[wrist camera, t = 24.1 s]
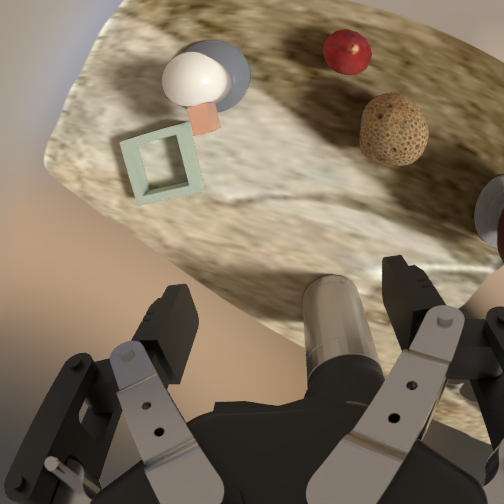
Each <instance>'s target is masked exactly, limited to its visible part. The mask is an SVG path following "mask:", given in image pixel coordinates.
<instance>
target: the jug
mask: <svg viewBox="0 0 504 504" xmlns="http://www.w3.org/2000/svg"><path fill="white" fill-rule="evenodd" d="M162 86H163V90H164V92H165V94H166V96H167V97H168V98H169V99H170V100H171V101H172V102H174V103H176V104H178V105H181V106H192V107H188V108H187V110H188V115H189V119H190V123H191V127H192V132H193V136H196V135H200V134H205V133H209V132H213V131H215V130H217V129H219V128H221V126H220V122H219V117H218V113H217V108H216V104H215V103H219V102H221V101H223V100H224V99H226V98H227V97H228V96H229V94H230V93H231V91H232V88H233V76H232V74H231V72H230V71H229V69H228V68H227V67H225V66H224V65H222V64H220V63H219V62H217V61H215V60H213V59H211V58H209V57H207V56H206V55H203V54H201V53H198V52H186V53H182V54H180V55H178V56H176V57H174V58H173V59H172V60H171V61H170V62H169V63H168V64H167V66H166V67H165V69H164V72H163V76H162Z"/></svg>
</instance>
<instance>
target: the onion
mask: <svg viewBox="0 0 504 504" xmlns="http://www.w3.org/2000/svg"><path fill="white" fill-rule="evenodd" d="M323 55H324V59H325V61H326V63H327V64H328V66H329V67H330V68H331V69H333V70H334V71H336V72H337V73H341V74H345V75H355V74H358V73H360V72H362V71H364V70H365V69H366V68H367V67H368V65H369V64H370V61H371V56H372V53H371V47H370V45H369V43H368V42H367V40H366V39H365V38H364V37H363V36H362V35H360V34H359V33H357V32H355V31H351V30H347V29H345V30H339V31H336V32H334V33H333V34H331V35H330V36H328V38H327V39H326V41H325V42H324V46H323Z"/></svg>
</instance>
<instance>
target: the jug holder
mask: <svg viewBox="0 0 504 504" xmlns="http://www.w3.org/2000/svg"><path fill="white" fill-rule="evenodd" d="M173 135H177V139H178V144H179V148H180V152H181V155H182V159H183V163H184V167H185V171H186V175H187V179H188V182H183V183H179V184H174V185H170V186H165V187H161V188H157V189H152V190H150V186H149V183H148V180H147V176H146V173H145V169H144V165H143V162H142V158H141V154H140V151H139V147H138V145H141V144H144V143H148V142H151V141H155V140H158V139H162V138H166V137H169V136H173ZM119 143H120V147H121V150H122V154H123V158H124V161H125V165H126V168H127V172H128V175H129V179H130V182H131V185H132V189H133V192H134V195H135V198H136V202H137V205H138V206H140V205H144V204H149V203H153V202H158V201H162V200H167V199H171V198H176V197H181V196H186V195H191V194H196V193H200V192H201V191H202V190H203V188H204V187H205V184H204V180H203V176H202V172H201V168H200V164H199V160H198V156H197V152H196V147H195V143H194V139H193V135H192V131H191V127H190V122H185V123H182V124H178V125H174V126H170V127H167V128H163V129H160V130H156V131H153V132H149V133H146V134H143V135H140V136H136V137H133V138H130V139H127V140H124V141H121V142H119Z"/></svg>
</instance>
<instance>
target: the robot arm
mask: <svg viewBox="0 0 504 504" xmlns="http://www.w3.org/2000/svg"><path fill="white" fill-rule="evenodd" d="M382 297H383V303H384V306H385V308H386V311H387V313H388V316H389V318H390V321H391V324H392V326H393V329H394V331H395V334H396V337H397V339H398V342H399V345H400V347H401V350H402V352H401V354H400V356H399V358H398V359H397V361H396V363H395V365H394V366H393V368H392V370H391V371H390V373H389V375H388V376H387V378H386V380H385V378H384V376H383V373H382V369H381V365H380V362H379V358H378V355H377V352H376V348H375V345H374V341H373V338H372V335H371V331H370V328H369V325H368V322H367V318H366V315H365V312H364V309H363V306H362V302H361V299H360V296H359V293H358V290H357V288H356V286H355V285H354V283H353V282H352V281H350V280H349V279H347V278H345V277H342V276H337V275H328V276H324V277H321V278H319V279H317V280H315V281H314V282H312V283H311V284H310V285H309V286H308V287H307V289H306V290H305V292H304V295H303V300H302V304H303V319H304V333H305V349H306V367H307V385H308V389H307V391H306V394H305V396H304V399H301V400H298V401H294V402H291V403H288V404H284V405H281V406H274V405H266V404H260V403H254V402H247V401H239V402H238V401H237V402H215V405H214V410H213V412H209V413H206V414H203V415H200V416H198V417H196V418H194V419H192V420H190V421H189V422H187V423H186V421H185V420H184V418H183V416H182V415H181V413H180V411H179V409H178V408H177V406H176V404H175V403H174V401H173V399H172V398H171V396H170V394H169V392H168V390H167V388H168V385H169V384H180V381H181V379H182V376H183V372H184V369H185V366H186V363H187V360H188V357H189V354H190V351H191V348H192V345H193V342H194V339H195V335H196V333H197V330H198V325H199V318H198V313H197V311H196V308H195V305H194V302H193V299H192V297H191V294H190V291H189V288H188V286H187V285H186V284H178V285H170V286H168V287H167V288H166V290H165V292H164V294H163V296H162V298H158V299H157V300H156V301H155V302H154V303H153V304H152V305H151V306H150V307H149V309H148V311H147V313H146V315H145V316H144V318H143V322H141V324H140V325H139V327H138V329H137V331H136V333H135V335H134V336H133V338H132V340H131V341H128V342H125V343H122V344H120V345H119V346H117V347H116V348H115V349H114V350H113V351H112V353H111V355H110V358H109V359H105V360H101V361H97V362H94V361H93V359H92V357H91V356H90V355H89V354H87V353H79V354H76V355H74V356H72V357H71V358H69V359H68V360H67V361H66V362H65V364H64V365H63V367H62V369H61V371H60V372H59V374H58V376H57V378H56V379H55V381H54V383H53V385H52V386H51V388H50V390H49V392H48V394H47V395H46V397H45V399H44V401H43V403H42V405H41V406H40V408H39V410H38V412H37V414H36V416H35V418H34V420H33V422H32V424H31V426H30V428H29V430H28V432H27V434H26V436H25V438H24V440H23V442H22V444H21V446H20V448H19V451H18V452H17V455H16V457H15V459H14V461H13V463H12V465H11V468H10V470H9V472H8V475H7V477H6V479H5V484H4V489H5V493H6V495H7V496H8V498H9V499H10V500H12V501H13V502H15V503H16V504H504V307H495V308H492V309H490V310H489V311H488V312H487V315H486V319H482V320H481V319H465V318H464V316H463V314H462V313H461V312H460V311H459V310H458V309H456V308H454V307H451V306H447V305H446V304H445V302H444V301H443V299H442V298H441V296H440V295H439V293H438V292H437V290H436V288H435V287H434V286H433V284H432V282H431V281H430V280H429V278H428V276H427V275H426V273H425V272H424V271H423V270H422V269H420V268H418V267H417V266H415V265H412V266H408V264H407V263H406V261H405V260H404V258H403V257H402V255H396V256H390V257H384V258H383V260H382ZM448 379H469V380H470V382H471V385H472V388H473V391H474V393H475V396H476V399H477V402H478V404H479V407H480V410H481V413H482V416H483V419H484V422H485V425H486V428H487V431H488V435H489V438H490V441H491V445H492V448H493V453H492V454H491V456H490V457H489V459H488V461H487V463H486V466H485V483H484V486H483V487H482V486H481V484H480V483H479V482H478V481H477V480H476V479H475V478H474V477H473V476H471V475H470V474H468V473H467V472H465V471H464V470H463V469H461V468H460V467H458V466H456V465H455V464H453V463H452V462H451V461H449V460H448V459H446V458H445V457H443V456H442V455H441V454H439V453H438V452H436V451H435V450H433V449H432V448H431V447H429V446H428V445H426V444H425V443H423V442H422V439H423V437H424V435H425V432H426V430H427V428H428V426H429V424H430V421H431V419H432V417H433V415H434V412H435V410H436V408H437V406H438V403H439V401H440V399H441V396H442V394H443V391H444V389H445V387H446V384H447V381H448ZM83 402H85V403H86V404H87V405H88V409H87V411H86V414H85V416H84V418H83V421H82V423H81V424H80V421H79V411H80V409H81V407H82V404H83ZM122 410H123V412H124V415H125V418H126V421H127V423H128V426H129V428H130V431H131V434H132V436H133V438H134V441H135V443H136V445H137V448H138V450H139V453H140V455H141V457H142V460H141V461H139V462H138V463H137V464H135V465H134V466H133V467H132V468H130V469H129V470H128V471H126V472H125V473H124V474H122V475H121V476H120V477H119V478H117V479H116V480H114V481H113V482H112V483H110V484H109V485H108V486H107V487H105V488H104V489H102V487H101V483H100V481H99V478H100V475H101V472H102V469H103V466H104V463H105V460H106V457H107V453H108V450H109V448H110V445H111V441H112V439H113V436H114V433H115V430H116V427H117V424H118V421H119V418H120V415H121V413H122Z"/></svg>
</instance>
